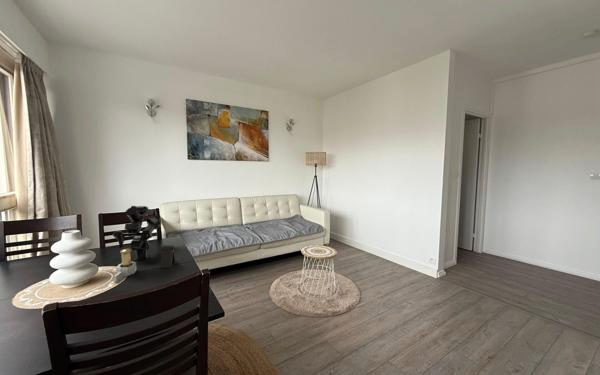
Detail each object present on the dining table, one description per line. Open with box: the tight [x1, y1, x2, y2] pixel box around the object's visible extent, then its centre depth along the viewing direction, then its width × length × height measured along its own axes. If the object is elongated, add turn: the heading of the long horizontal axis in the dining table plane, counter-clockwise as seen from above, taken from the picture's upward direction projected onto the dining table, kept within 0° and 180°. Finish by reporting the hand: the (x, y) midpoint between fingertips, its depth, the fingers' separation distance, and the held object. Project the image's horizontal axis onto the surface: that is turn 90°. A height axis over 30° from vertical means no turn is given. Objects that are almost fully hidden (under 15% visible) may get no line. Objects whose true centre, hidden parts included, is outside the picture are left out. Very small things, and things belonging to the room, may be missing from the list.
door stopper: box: [159, 244, 177, 269], centre depth 148 cm, size 9×6×12 cm, turn 8°
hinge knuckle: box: [113, 261, 137, 283], centre depth 137 cm, size 20×8×4 cm, turn 21°
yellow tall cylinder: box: [119, 248, 132, 267], centre depth 137 cm, size 5×5×13 cm
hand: (129, 248), depth 140 cm, fingers open, 9 cm apart
